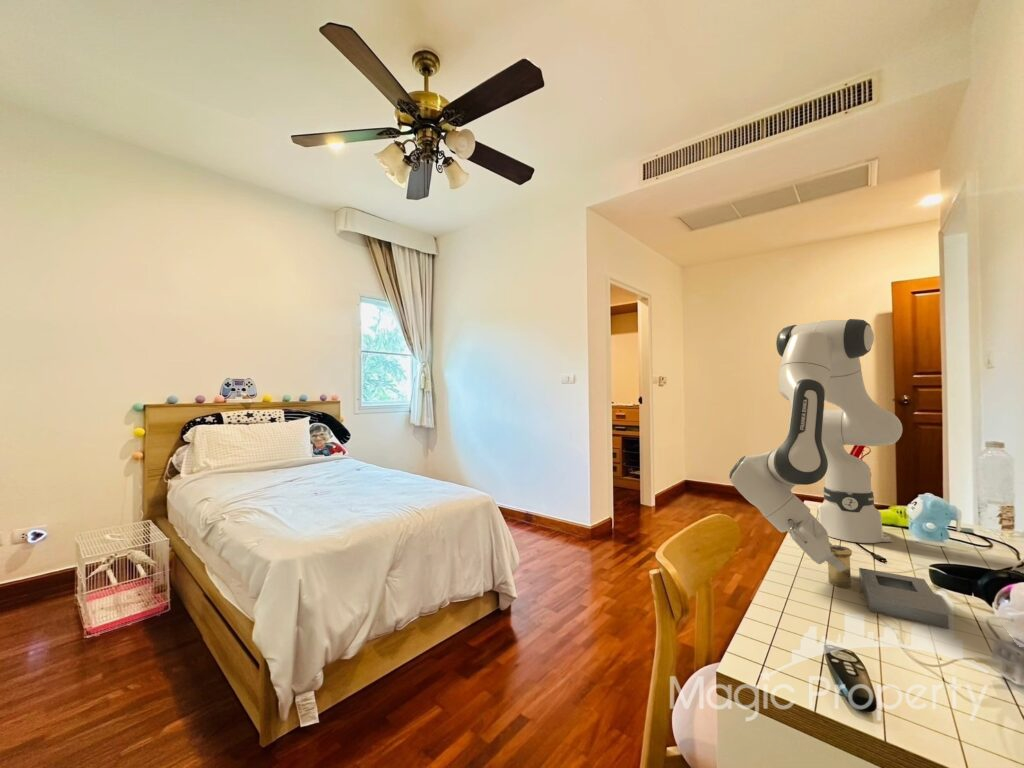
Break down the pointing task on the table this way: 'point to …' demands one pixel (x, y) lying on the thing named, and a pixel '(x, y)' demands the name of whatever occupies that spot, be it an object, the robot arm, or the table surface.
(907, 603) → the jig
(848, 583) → the bushing
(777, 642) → the table surface
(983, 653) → the table surface
